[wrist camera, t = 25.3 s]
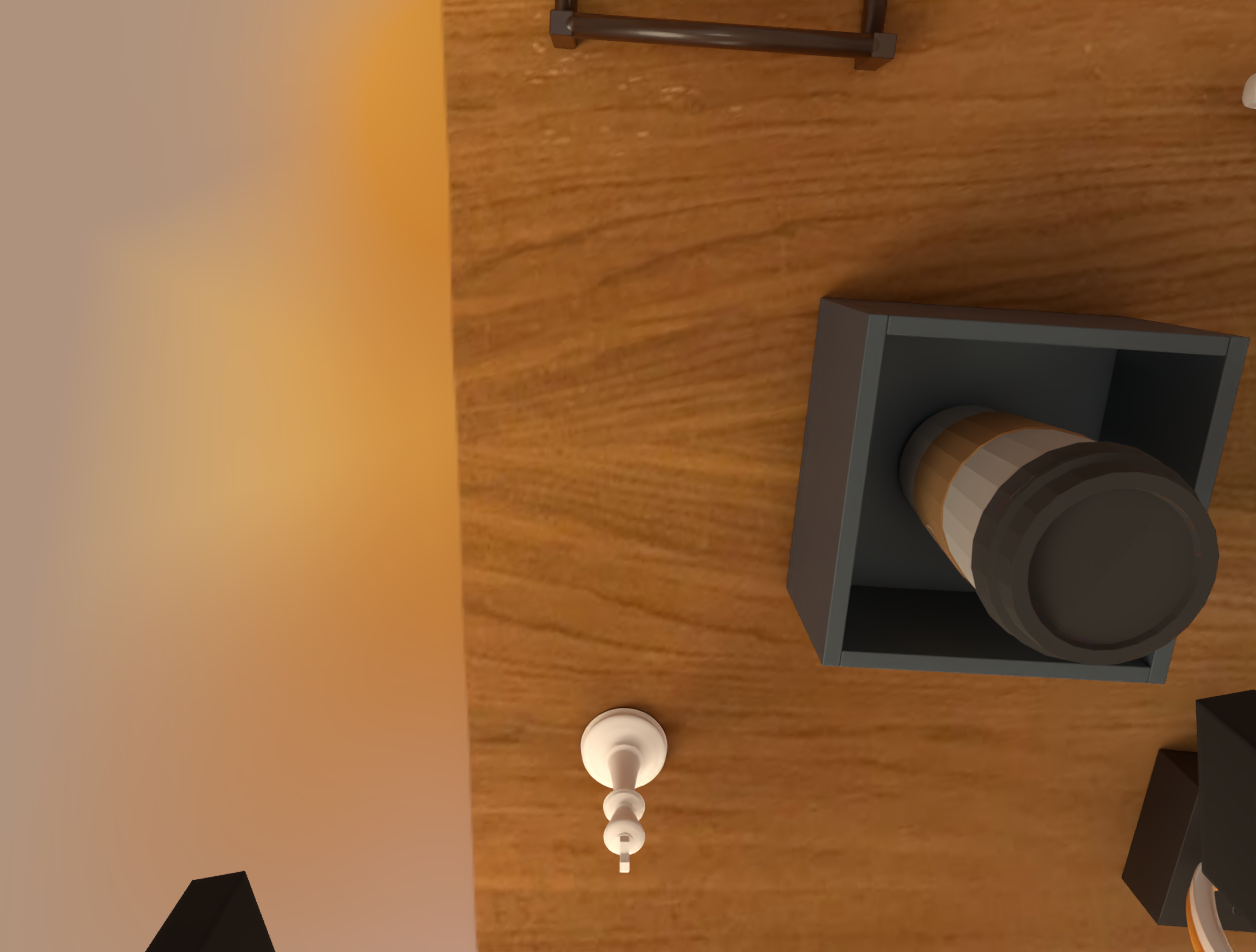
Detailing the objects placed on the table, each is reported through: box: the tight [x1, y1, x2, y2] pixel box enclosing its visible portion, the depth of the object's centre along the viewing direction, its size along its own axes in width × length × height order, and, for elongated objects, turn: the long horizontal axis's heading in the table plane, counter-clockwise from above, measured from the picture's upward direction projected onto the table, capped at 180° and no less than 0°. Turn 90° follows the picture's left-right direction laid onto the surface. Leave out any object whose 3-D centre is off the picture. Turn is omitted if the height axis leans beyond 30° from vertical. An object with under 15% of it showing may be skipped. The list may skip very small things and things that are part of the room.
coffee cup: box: [899, 405, 1219, 665], centre depth 38 cm, size 8×8×15 cm
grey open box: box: [786, 297, 1250, 684], centre depth 42 cm, size 16×16×9 cm
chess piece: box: [581, 708, 667, 872], centre depth 46 cm, size 5×5×10 cm
